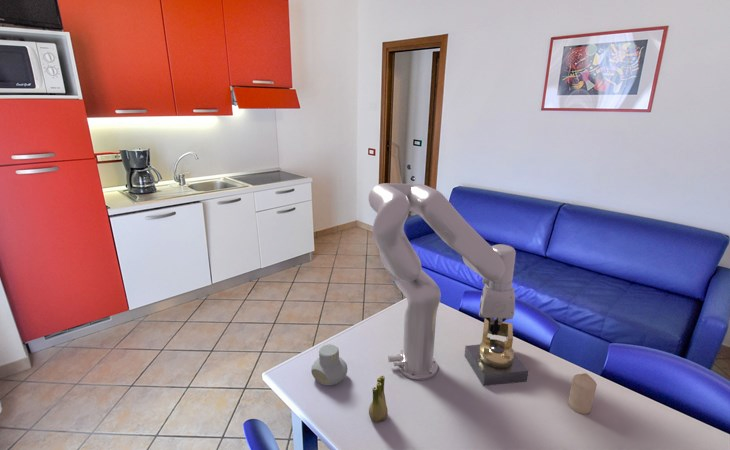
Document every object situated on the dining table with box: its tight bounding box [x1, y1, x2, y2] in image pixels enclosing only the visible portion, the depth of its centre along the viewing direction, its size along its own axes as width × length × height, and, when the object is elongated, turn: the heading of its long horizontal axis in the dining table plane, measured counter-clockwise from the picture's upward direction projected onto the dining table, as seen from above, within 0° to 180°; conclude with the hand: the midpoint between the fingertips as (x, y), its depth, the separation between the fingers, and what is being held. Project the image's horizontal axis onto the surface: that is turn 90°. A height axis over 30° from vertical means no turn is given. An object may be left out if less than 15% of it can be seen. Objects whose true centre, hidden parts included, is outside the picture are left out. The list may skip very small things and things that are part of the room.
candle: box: [567, 372, 598, 415], centre depth 100 cm, size 6×6×10 cm
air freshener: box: [311, 343, 348, 386], centre depth 111 cm, size 11×8×10 cm
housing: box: [464, 344, 529, 387], centre depth 116 cm, size 14×14×4 cm
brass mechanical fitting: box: [479, 318, 515, 368], centre depth 118 cm, size 18×10×5 cm, turn 160°
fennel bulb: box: [368, 375, 388, 423], centre depth 96 cm, size 6×5×12 cm
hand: (493, 332), depth 122 cm, fingers closed
